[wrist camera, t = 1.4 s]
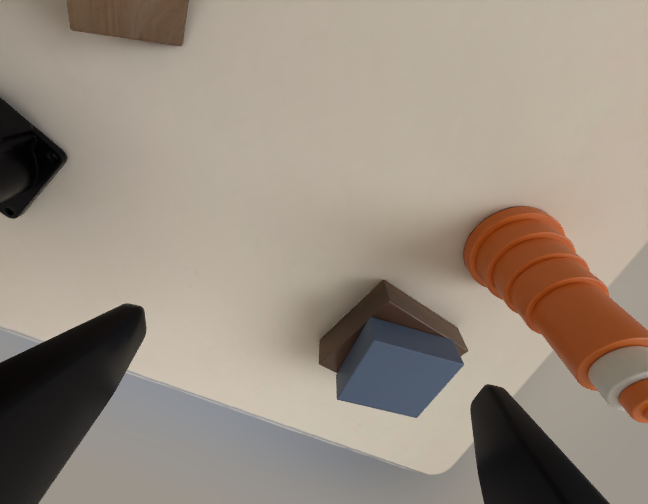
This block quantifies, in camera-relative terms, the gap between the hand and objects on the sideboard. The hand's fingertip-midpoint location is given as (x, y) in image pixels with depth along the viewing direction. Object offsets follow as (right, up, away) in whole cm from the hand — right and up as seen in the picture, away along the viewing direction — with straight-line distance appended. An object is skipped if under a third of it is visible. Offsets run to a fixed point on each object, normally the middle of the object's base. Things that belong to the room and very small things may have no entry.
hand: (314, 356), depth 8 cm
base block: (+5, -4, +18) cm, 19 cm away
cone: (+13, +3, +13) cm, 19 cm away
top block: (+5, -5, +16) cm, 18 cm away
